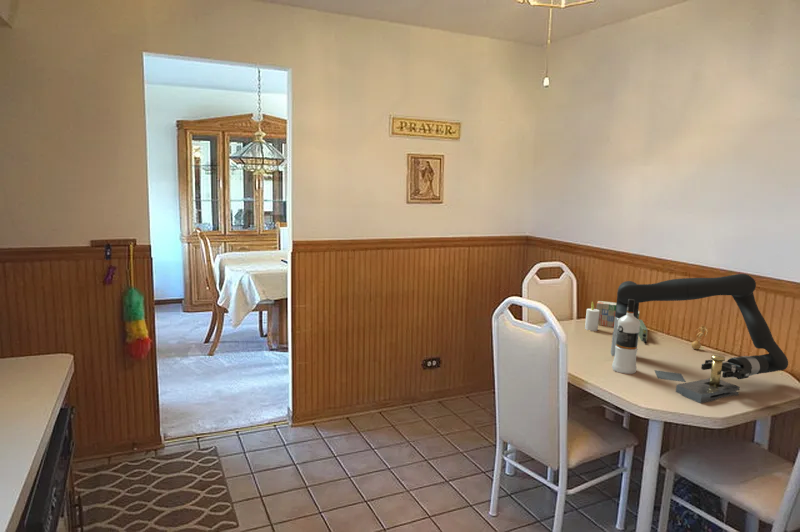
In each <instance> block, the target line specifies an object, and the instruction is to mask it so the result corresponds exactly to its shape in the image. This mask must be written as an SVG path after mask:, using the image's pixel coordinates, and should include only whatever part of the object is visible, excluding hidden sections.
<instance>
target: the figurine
mask: <svg viewBox="0 0 800 532" xmlns="http://www.w3.org/2000/svg"><path fill="white" fill-rule="evenodd" d="M698 330H700V331H699V332H698V333H697V334H696V338H697V339H696V340H693V341H692V342H691V348H692V349H694V350H699V349H701V348H702V345H701V342H700V341H701V340H702V337H703V336H704V338H707V337H708V336H707V335H708V333H709V331H708V327H707V326H706V325H704V324H701V325H700V326H699V327H698V328H696V329H695V331H694V333H696V332H697V331H698ZM705 332H706V333H705ZM704 334H705V335H704Z"/></svg>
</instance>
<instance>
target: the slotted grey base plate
mask: <svg viewBox="0 0 800 532" xmlns="http://www.w3.org/2000/svg"><path fill="white" fill-rule="evenodd" d="M709 383H710V377H709V378H705V379H700V380H695V381H688V382H682V383H678V384H676V387H675V388H676V389H675V393H677V394H680V395H681V396H682V397H685V398H687V399H689V400H691V401H694V402H696V403H699V404H703V403H708V402H712V401H713V402H714V401H717V400H719V399H722V398H727V397H732V396H739V394H740V386H738V385H735V384H733V383H730V382H727V381H726V380H725V381H724V380H722V379H720V385H719V387H718V388H715V387H713V386H710V385H709Z"/></svg>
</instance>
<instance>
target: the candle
mask: <svg viewBox="0 0 800 532" xmlns="http://www.w3.org/2000/svg"><path fill="white" fill-rule="evenodd" d="M585 313H586V315H585V321H584V322H585V325H584V330H585V329H586V330H585V331H588V330H590V331H589V332H597V331H598V328H599V325H598V321H599V310H597V309H596V308H595V305H594V301H591V307H590V308H586V312H585Z"/></svg>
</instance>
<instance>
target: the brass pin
mask: <svg viewBox="0 0 800 532" xmlns="http://www.w3.org/2000/svg"><path fill="white" fill-rule="evenodd" d="M710 355H711V356H710V360H713V361H712V368H711V369H710V376H709V378H710V383H709V385H710V386H713V387H715V388H718V387H719V385H720V380H721V377H722V372H721V370H722V362H726V361H725V360H726V357H725V356H724V355H720V354H710Z"/></svg>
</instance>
